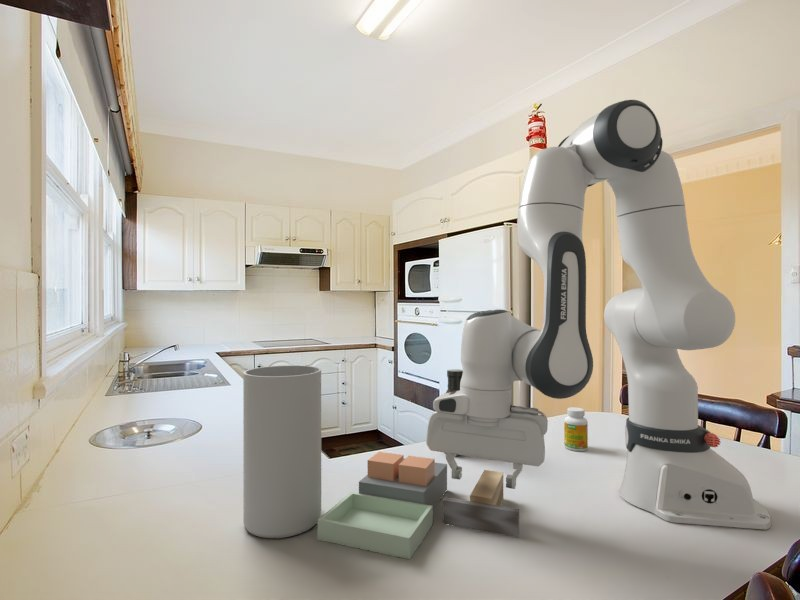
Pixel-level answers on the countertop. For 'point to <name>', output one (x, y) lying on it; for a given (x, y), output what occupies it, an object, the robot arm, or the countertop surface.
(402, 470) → the peach block
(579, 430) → the supplement bottle
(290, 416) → the cylinder vase
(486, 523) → the grey and tan blocks
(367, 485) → the board
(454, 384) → the sauce bottle
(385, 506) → the tray
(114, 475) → the countertop surface
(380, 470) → the orange block
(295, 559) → the countertop surface
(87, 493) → the countertop surface
